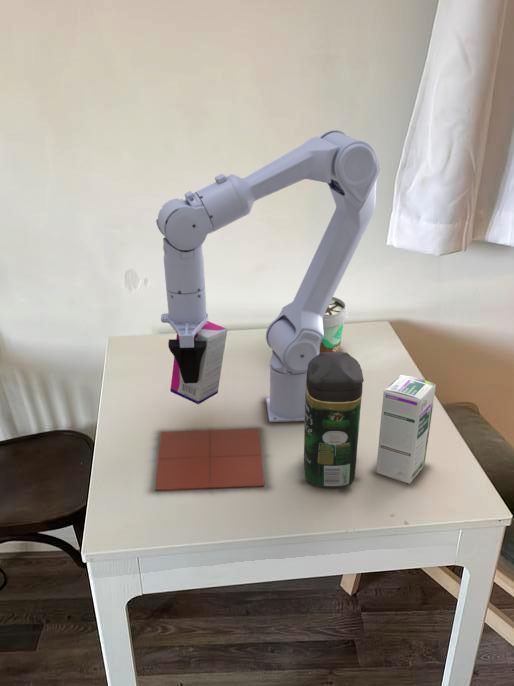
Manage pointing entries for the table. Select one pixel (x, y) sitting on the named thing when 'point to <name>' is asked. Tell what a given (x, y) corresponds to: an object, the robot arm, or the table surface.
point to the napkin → (209, 460)
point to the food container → (333, 325)
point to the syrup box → (405, 427)
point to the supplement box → (203, 366)
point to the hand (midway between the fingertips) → (191, 370)
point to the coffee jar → (332, 419)
